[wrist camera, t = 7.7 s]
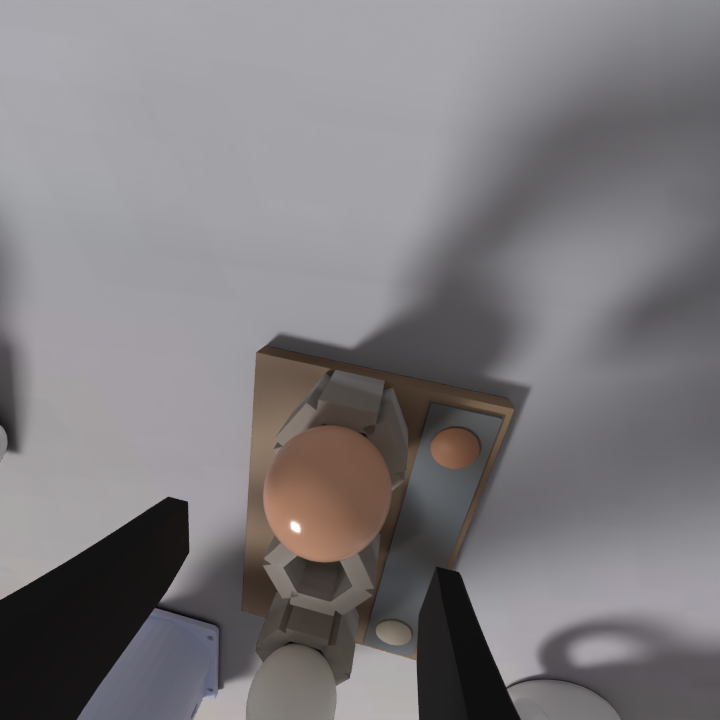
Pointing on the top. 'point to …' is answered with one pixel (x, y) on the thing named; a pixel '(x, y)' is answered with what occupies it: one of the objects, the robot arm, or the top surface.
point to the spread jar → (3, 442)
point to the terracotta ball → (327, 493)
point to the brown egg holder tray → (407, 509)
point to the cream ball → (293, 686)
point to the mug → (559, 701)
